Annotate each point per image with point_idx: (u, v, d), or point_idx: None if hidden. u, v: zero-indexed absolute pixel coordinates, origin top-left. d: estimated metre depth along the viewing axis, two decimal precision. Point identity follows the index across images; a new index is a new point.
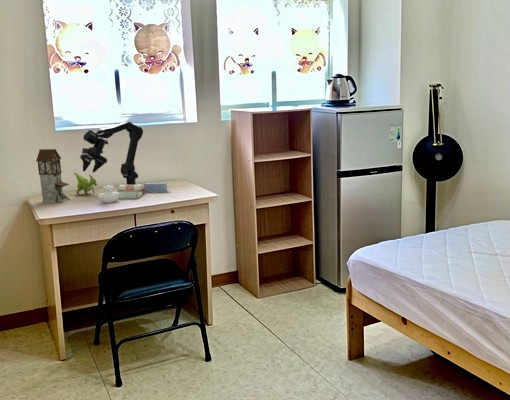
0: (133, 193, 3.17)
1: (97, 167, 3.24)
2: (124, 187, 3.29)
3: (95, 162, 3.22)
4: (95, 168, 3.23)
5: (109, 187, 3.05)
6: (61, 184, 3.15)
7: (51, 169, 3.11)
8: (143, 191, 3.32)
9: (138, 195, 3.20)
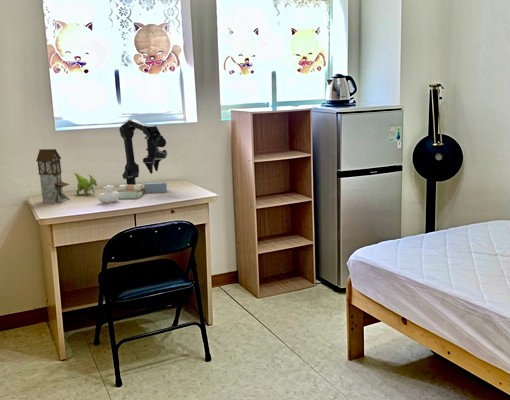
0: (133, 193, 3.17)
1: None
2: (124, 187, 3.29)
3: (159, 161, 3.37)
4: None
5: (109, 187, 3.05)
6: (61, 184, 3.15)
7: (51, 169, 3.11)
8: (143, 191, 3.32)
9: (138, 195, 3.20)
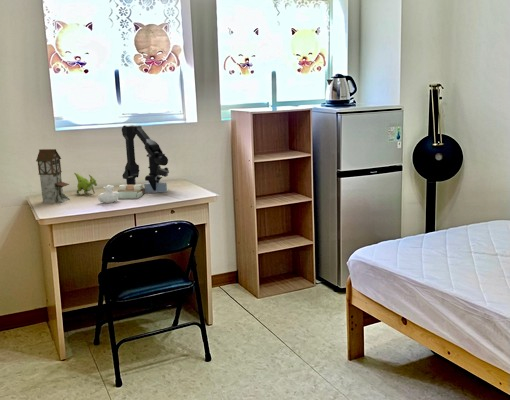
0: (133, 193, 3.17)
1: None
2: (124, 187, 3.29)
3: (159, 179, 3.38)
4: None
5: (109, 187, 3.05)
6: (61, 184, 3.15)
7: (51, 169, 3.11)
8: (143, 191, 3.32)
9: (138, 195, 3.20)
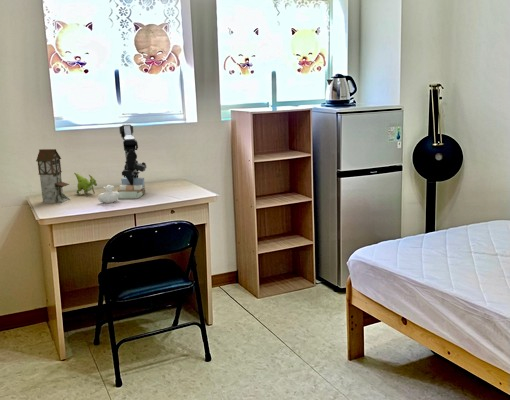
0: (133, 193, 3.17)
1: None
2: (124, 187, 3.29)
3: (137, 175, 3.36)
4: None
5: (109, 187, 3.05)
6: (61, 184, 3.15)
7: (51, 169, 3.11)
8: (143, 191, 3.32)
9: (138, 195, 3.20)
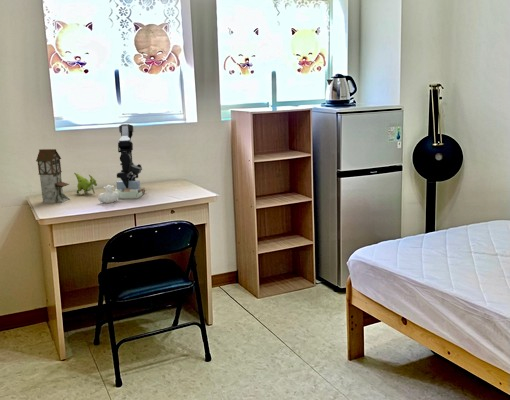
0: (133, 193, 3.17)
1: None
2: None
3: (132, 177, 3.28)
4: None
5: (109, 187, 3.05)
6: (61, 184, 3.15)
7: (51, 169, 3.11)
8: (143, 191, 3.32)
9: (138, 195, 3.20)
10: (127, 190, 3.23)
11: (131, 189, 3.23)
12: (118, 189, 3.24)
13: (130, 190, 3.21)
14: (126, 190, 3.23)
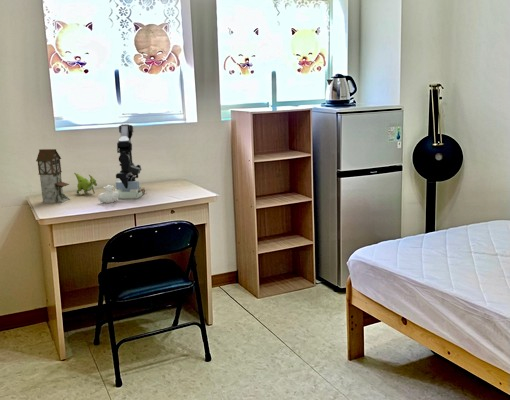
0: (133, 193, 3.17)
1: None
2: None
3: (131, 177, 3.27)
4: None
5: (109, 187, 3.05)
6: (61, 184, 3.15)
7: (51, 169, 3.11)
8: (143, 191, 3.32)
9: (138, 195, 3.20)
10: None
11: (131, 189, 3.23)
12: (118, 189, 3.24)
13: (130, 190, 3.21)
14: None
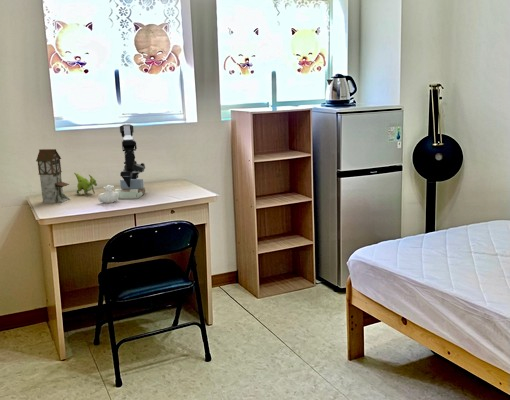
0: (133, 193, 3.17)
1: None
2: None
3: (137, 175, 3.36)
4: None
5: (109, 187, 3.05)
6: (61, 184, 3.15)
7: (51, 169, 3.11)
8: (143, 191, 3.32)
9: (138, 195, 3.20)
10: None
11: (131, 189, 3.23)
12: (118, 189, 3.24)
13: (130, 190, 3.21)
14: None
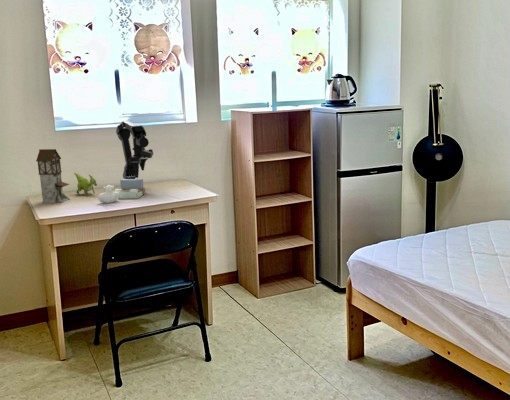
0: (133, 193, 3.17)
1: None
2: None
3: (145, 161, 3.39)
4: None
5: (109, 187, 3.05)
6: (61, 184, 3.15)
7: (51, 169, 3.11)
8: (143, 191, 3.32)
9: (138, 195, 3.20)
10: None
11: (131, 189, 3.23)
12: (118, 189, 3.24)
13: (130, 190, 3.21)
14: None
